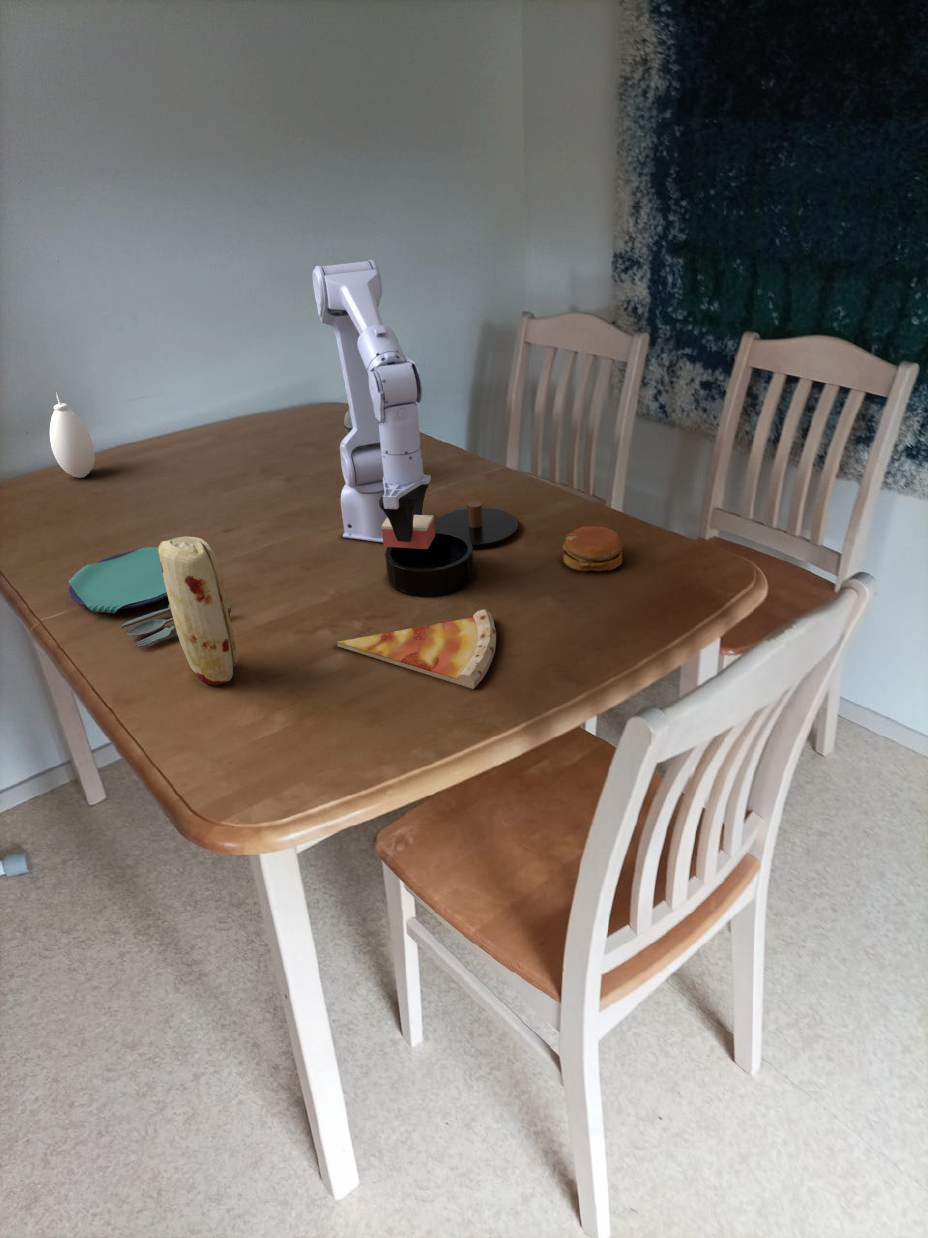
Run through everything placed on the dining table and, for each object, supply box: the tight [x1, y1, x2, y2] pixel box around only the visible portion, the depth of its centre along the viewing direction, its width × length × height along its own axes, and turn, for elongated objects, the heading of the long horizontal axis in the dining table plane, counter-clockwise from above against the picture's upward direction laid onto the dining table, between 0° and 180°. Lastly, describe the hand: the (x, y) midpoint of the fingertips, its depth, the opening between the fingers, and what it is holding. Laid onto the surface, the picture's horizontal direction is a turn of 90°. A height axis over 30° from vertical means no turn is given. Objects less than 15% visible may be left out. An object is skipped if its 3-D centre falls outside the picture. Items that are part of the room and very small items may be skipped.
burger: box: [561, 525, 624, 572], centre depth 139 cm, size 10×9×5 cm
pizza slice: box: [336, 608, 497, 690], centre depth 122 cm, size 16×22×2 cm
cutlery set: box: [67, 546, 232, 648], centre depth 136 cm, size 20×30×2 cm, turn 37°
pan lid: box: [434, 500, 519, 548], centre depth 150 cm, size 15×15×5 cm
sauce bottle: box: [49, 391, 96, 479], centre depth 179 cm, size 8×8×18 cm
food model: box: [158, 535, 239, 686], centre depth 113 cm, size 10×7×20 cm
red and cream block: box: [381, 514, 435, 549], centre depth 133 cm, size 7×4×4 cm, turn 78°
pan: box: [384, 531, 475, 598], centre depth 137 cm, size 14×14×4 cm
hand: (408, 533), depth 133 cm, fingers closed on red and cream block, 4 cm apart
